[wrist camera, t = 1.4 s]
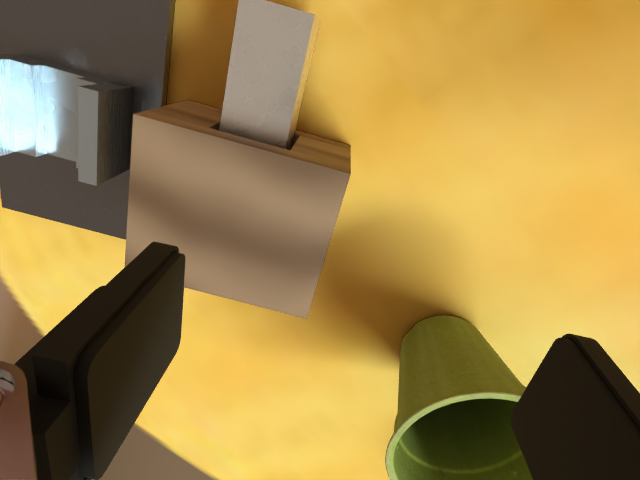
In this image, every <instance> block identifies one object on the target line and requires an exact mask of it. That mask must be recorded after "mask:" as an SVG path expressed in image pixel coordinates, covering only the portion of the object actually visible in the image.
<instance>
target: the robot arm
mask: <svg viewBox="0 0 640 480" xmlns="http://www.w3.org/2000/svg"><path fill="white" fill-rule="evenodd" d="M184 276H185V255H184V254H182V253H179V248H178V247H177V246H173V245H169V244H164V243H160V242H152V243H151V244H149V245H148V246H147V247H146V248H145V249H144V250H143V251H142V252H141V253H140V254H139V255H138V256H137V257H136V258H134V259H133V260H132V261H131V262H130V263H129V264H128V265H127V266H126V267H125V268H124V269H123V270H122V271H121V272H120V273H118V274H117V275H116V276H115V277H114V278H113V279H112V280H111V281H110V282H109V283H108V284H107V285H106V286H101V287H99V288H98V289H96V290H95V291H94V292H93V293H91V294H90V295H89V296H88V297H87V298H86V299H85V300H84V301H83V302H82V303H81V304H79V305H78V306H77V307H76V308H75V309H74V310H73V311H72V312H71V313H70V314H69V315H67V316H66V317H65V318H64V319H63V320H62V321H61V322H60V323H59V324H58V325H57V326H55V327H54V328H53V329H52V330H51V331H50V332H49V333H48V334H47V335H46V336H45V337H43V338H42V339H41V340H40V341H39V342H38V343H37V344H36V345H35V346H34V347H33V348H32V349H30V350H29V351H28V352H27V353H26V354H25V355H24V356H23V357H22V358H20V359H19V360H18V361H17V362H16V363H15V364H11V363H7V362H4V361H0V480H91V479H95V480H98V479H100V478H101V477H102V476H103V474H104V472H105V471H106V469H107V468H108V466H109V464H110V463H111V461H112V459H113V458H114V456H115V454H116V453H117V451H118V449H119V448H120V446H121V444H122V443H123V441H124V439H125V438H126V436H127V434H128V433H129V431H130V429H131V428H132V426H133V424H134V423H135V421H136V419H137V418H138V416H139V414H140V413H141V411H142V409H143V408H144V406H145V404H146V403H147V401H148V399H149V398H150V396H151V394H152V393H153V391H154V389H155V388H156V386H157V384H158V383H159V381H160V379H161V378H162V376H163V374H164V373H165V371H166V369H167V368H168V366H169V364H170V363H171V361H172V359H173V358H174V356H175V354H176V352H177V350H178V348H179V344H180V339H181V325H182V309H183V293H184ZM511 426H512V429H513V432H514V434H515V437H516V439H517V441H518V444H519V446H520V449H521V451H522V454H523V456H524V459H525V461H526V463H527V466H528V468H529V471H530V473H531V476H532V478H533V480H640V393H639V392H638V391H637V390H636V388H635V387H634V386H633V385H632V383H631V382H630V381H629V380H628V379H627V377H626V376H625V375H624V374H623V372H622V371H621V370H620V369H619V368H618V366H617V365H616V364H615V363H614V362H613V360H612V359H611V358H610V357H609V355H608V354H607V353H606V352H605V351H604V349H603V348H602V347H601V346H600V344H599V343H598V342H597V341H596V340H594V339H591V338H587V337H583V336H578V335H574V334H566V335H564V336H563V337H562V338H558V339H556V340H555V341H554V343H553V344H552V346H551V348H550V349H549V351H548V353H547V354H546V356H545V358H544V359H543V361H542V363H541V364H540V366H539V368H538V369H537V371H536V373H535V374H534V376H533V378H532V379H531V381H530V383H529V384H528V386H527V388H526V389H525V391H524V393H523V394H522V396H521V398H520V399H519V401H518V403H517V404H516V406H515V407H514V409H513V411H512V413H511Z"/></svg>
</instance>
